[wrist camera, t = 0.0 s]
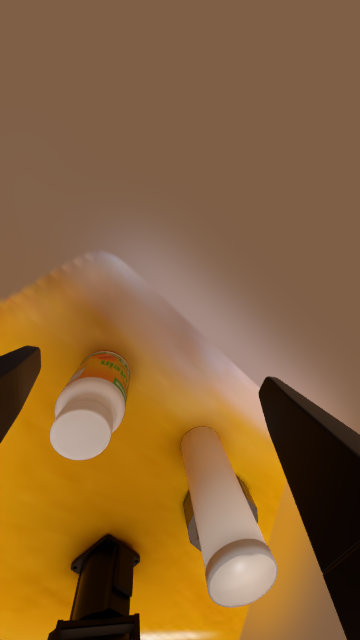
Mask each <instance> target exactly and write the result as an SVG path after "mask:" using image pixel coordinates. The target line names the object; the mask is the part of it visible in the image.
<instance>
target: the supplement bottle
mask: <svg viewBox="0 0 360 640" xmlns="http://www.w3.org/2000/svg"><path fill="white" fill-rule="evenodd" d="M129 380H130V370H129V367H128V364H127V363H126V361H125V360H124V359H123V358H122V357H121V356H119V355H118V354H116V353H113V352H109V351H100V352H96V353H94V354H92V355H90V356H88V357H87V358H86V359H85V360H84V361H83V362H82V363H81V365H80V366H79V368H78V369H77V371H76V372H75V374H74V375H73V376H72V378H71V379H70V381H69V382H68V384H67V385H66V387H65V388H64V389H63V391H62V392H61V394H60V396H59V397H58V399H57V402H56V405H55V421H54V423H53V425H52V427H51V430H50V441H51V444H52V446H53V448H54V449H55V450H56V451H57V452H58V453H59V454H60V455H62V456H64V457H65V458H68V459H72V460H86V459H90V458H93V457H95V456H97V455H98V454H100V453H101V452H102V451H103V450H104V449H105V448H106V447H107V445H108V443H109V441H110V438H111V434H112V433H113V432H114V431H115V430H116V429H117V427H118V426H119V425H120V423H121V421H122V419H123V416H124V412H125V406H126V399H127V392H128V386H129Z"/></svg>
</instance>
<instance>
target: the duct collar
mask: <svg viewBox="0 0 360 640" xmlns="http://www.w3.org/2000/svg"><path fill="white" fill-rule="evenodd" d="M236 477H237V476H236ZM237 480H238V482H239V484H240V486H241V489H242V491H243V493H244V495H245V498H246V500H247V502H248V504H249V507H250V509H251V511H252V513H253V516H254V518H255V520H256V522H257V523H258V515H257V508H256V506H255V503H254V501H253V499H252V497H251V495H250V493H249V491H248V489H247V486H246V485H245V484H244V483H243V482H242V481H241V480H240V479H239V478H238V477H237ZM183 505H184V511H185V517H186V523H187V529H188V535H189V540H190V543H191V544H192V545H194V546H195V547H196V548H197V549H199V550H200V551H202V550H201V545H200V541H199V536H198V531H197V526H196V521H195V516H194V511H193V506H192V501H191V496H190V491H189V492H188V494H187V496H186V498H185V500H184V504H183Z"/></svg>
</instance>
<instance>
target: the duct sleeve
mask: <svg viewBox="0 0 360 640" xmlns="http://www.w3.org/2000/svg"><path fill="white" fill-rule="evenodd" d="M181 451H182V456H183V461H184V466H185V471H186V476H187V481H188V486H189V491H190V496H191V501H192V506H193V511H194V516H195V521H196V526H197V531H198V536H199V541H200V545H201V550H202V555H203V560H204V565H205V577H206V582H207V587H208V592H209V596H210V598H211V599H212V600H213V601H214V602H215V603H216V604H218V605H220V606H224V607H240V606H244V605H247V604H250V603H252V602H254V601H256V600H257V599H259V598H261V597H262V596H263V595H264V594H266V593H267V591H269V590H270V588H271V587H272V586H273V584H274V582H275V580H276V577H277V573H278V568H277V564H276V562H275V560H274V557H273V555H272V553H271V551H270V549H269V547H268V546H267V545H266V543H265V540H264V538H263V536H262V534H261V531H260V529H259V527H258V525H257V522H256V520H255V518H254V516H253V513H252V511H251V509H250V507H249V504H248V502H247V500H246V498H245V495H244V493H243V491H242V489H241V486H240V484H239V482H238V480H237V477H236V475H235V473H234V470H233V468H232V466H231V464H230V461H229V459H228V457H227V455H226V452H225V450H224V448H223V446H222V443H221V441H220V439H219V437H218V435H217V433H216V432H215V431H214V430H213V429H211V428H209V427H203V426H202V427H196V428H194V429H192V430H190V431H189V432H187V433H186V434H185V436H184V437H183V439H182V441H181Z"/></svg>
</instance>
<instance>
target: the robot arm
mask: <svg viewBox="0 0 360 640" xmlns="http://www.w3.org/2000/svg"><path fill="white" fill-rule="evenodd" d="M40 369H41V352H40V348H39V347H35V346H24V347H22V348H19V349H17V350H14V351H12V352H9V353H7V354H5V355H2V356H0V443H1V442H2V440H3V438H4V437H5V435H6V434H7V432H8V430H9V429H10V427H11V426H12V424H13V423H14V421H15V419H16V418H17V416H18V414H19V413H20V411H21V409H22V407H23V405H24V403H25V401H26V399H27V397H28V395H29V393H30V391H31V389H32V387H33V385H34V383H35V380H36V378H37V376H38V374H39V372H40ZM259 399H260V402H261V406H262V410H263V413H264V417H265V421H266V424H267V428H268V431H269V434H270V437H271V439H272V442H273V444H274V447H275V450H276V452H277V455H278V458H279V460H280V463H281V466H282V468H283V471H284V474H285V476H286V479H287V482H288V484H289V487H290V489H291V492H292V495H293V497H294V500H295V503H296V505H297V508H298V510H299V513H300V516H301V518H302V521H303V524H304V526H305V529H306V532H307V534H308V537H309V540H310V542H311V545H312V548H313V550H314V553H315V556H316V558H317V561H318V564H319V566H320V569H321V571H322V573H323V577H324V580H325V583H326V585H327V588H328V591H329V593H330V596H331V599H332V601H333V603H334V607H335V609H336V612H337V614H338V617H339V620H340V622H341V625H342V628H343V630H344V633H345V635H346V638H347V640H360V435H359V434H358V433H357V432H355V431H354V430H352V429H351V428H349V427H348V426H346V425H345V424H343V423H342V422H340V421H339V420H338V419H336V418H335V417H333V416H332V415H330V414H329V413H327V412H326V411H325V410H323V409H322V408H320V407H319V406H317V405H316V404H314V403H313V402H311V401H310V400H308V399H307V398H306V397H304V396H303V395H301V394H300V393H298V392H297V391H295V390H294V389H292V388H291V387H290V386H288V385H287V384H285V383H284V382H282V381H281V380H279V379H278V378H275V377H266V378H265V380H264V382H263V384H262V386H261V388H260V390H259ZM139 562H140V556H139V555H138V554H136V553H135V552H133V551H132V550H131V549H129V548H128V547H126V546H125V545H123V544H122V543H121V542H119V541H118V540H116V539H115V538H114V537H112V536H111V535H106V536H105V537H104V538H102V539H101V540H100V541H99V542H97V543H96V544H95V545H94V546H92V547H91V548H90V549H89V550H87V551H86V552H85V553H84V554H82V555H81V556H80V557H79V558H77V559H76V560H75V561H74V562H73V563H72V565H71V570H72V571H74V572H76V573H77V574H79V578H78V583H77V587H76V592H75V597H74V601H73V606H72V610H71V615H70V620H69V621H63V620H58V622H57V625H56V629H55V630H53V631H52V632H51V633H49V636H48V640H140V620H139V613H136V614H134V615H129V610H130V597H131V596H132V588H133V567H134V566H136V565H137V564H138V563H139Z"/></svg>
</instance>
